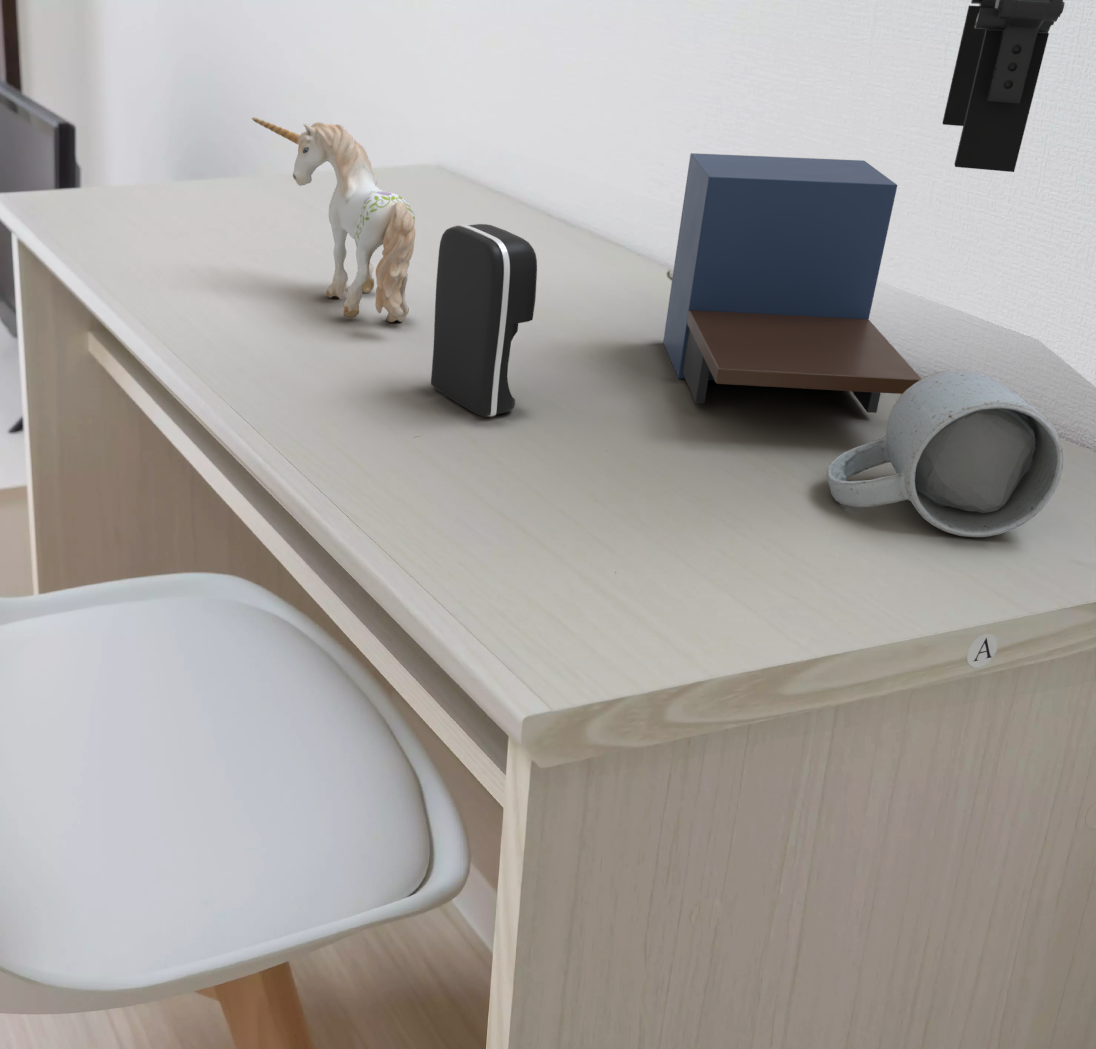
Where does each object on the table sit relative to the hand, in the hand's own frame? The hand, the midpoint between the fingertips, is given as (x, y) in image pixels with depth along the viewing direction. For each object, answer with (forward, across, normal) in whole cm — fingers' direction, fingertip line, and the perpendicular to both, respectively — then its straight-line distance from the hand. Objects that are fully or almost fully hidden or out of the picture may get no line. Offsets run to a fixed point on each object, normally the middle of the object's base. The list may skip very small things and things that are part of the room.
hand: (974, 146), depth 73 cm
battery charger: (+19, 0, -26) cm, 32 cm away
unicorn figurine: (+19, -15, -43) cm, 49 cm away
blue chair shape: (+19, -9, -8) cm, 22 cm away
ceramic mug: (+19, +6, +1) cm, 20 cm away
